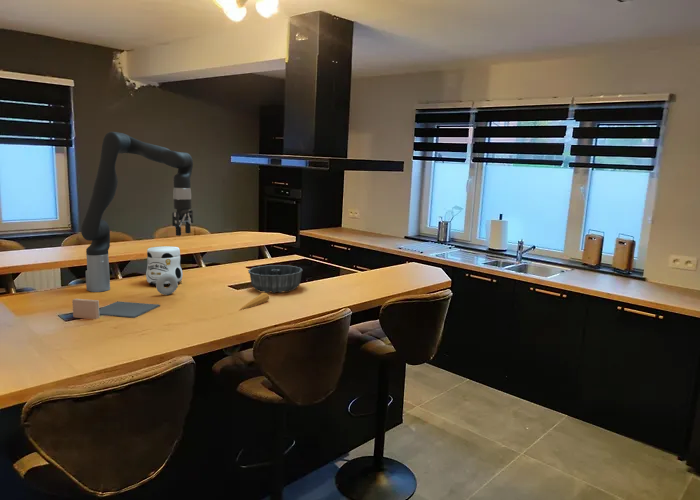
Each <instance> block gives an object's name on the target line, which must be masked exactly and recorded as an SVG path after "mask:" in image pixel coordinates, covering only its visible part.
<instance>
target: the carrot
mask: <svg viewBox="0 0 700 500" xmlns="http://www.w3.org/2000/svg"><path fill="white" fill-rule="evenodd" d="M269 300H270V295H269V294H268V293H267V292H260V294H259V295H257V296H255V298H253V299H251V300H250V301H249V302H247V303H246V304H244V305H243V306H242V307H240V309H238V310H239V311H243V310H245V309H249V308H252V307H255V305H256V306H257V305H258V304H259V305H261V303H262V304H264V302H265V303H267V302H268V301H269ZM242 309H243V310H242Z"/></svg>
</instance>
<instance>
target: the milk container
mask: <svg viewBox="0 0 700 500" xmlns="http://www.w3.org/2000/svg"><path fill="white" fill-rule="evenodd" d="M146 251H147V252H146V256H147V257H146V260H147V267H146V271H145V272H146V273H145V278H146V282H147V283H148V284H149V285H153V286H156V282H157V280H158V278H159V277H160V276H162V275H163V274H172V275H174V276H175V277H176V278H177V281H178V284H179V283H180V282H182V281H183V276H184V275H183V270H182V269H183V268H182V265H181V250H180V247H178V246H171V245H170V246H168V245H167V246H164V245H163V246H151V247H149V248H147V250H146ZM164 286H170V282H169V281H166V282H165V283H164Z"/></svg>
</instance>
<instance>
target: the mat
mask: <svg viewBox="0 0 700 500" xmlns="http://www.w3.org/2000/svg"><path fill="white" fill-rule="evenodd" d="M160 306H161V304H157V303H155V304H154V303H145V302H143V303H142V302H132V301H131V302H129V301H115V302H112V303H110V304H108V305H107V304H106V305H104V306H102V307H99V316H107V317H117V318H118V317H119V318H131V319H135V318H138V317H140V316H142V315H144V314H146V313H148V312H150V311H152V310H154V309H156V308H159V307H160Z"/></svg>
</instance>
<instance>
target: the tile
mask: <svg viewBox="0 0 700 500" xmlns="http://www.w3.org/2000/svg"><path fill="white" fill-rule="evenodd" d="M71 302H72V315H73V316H72V317H73V318H76V319H89V320H97V319H100V317H101V316H100V315H99V309H100V303H99V300H98V299H97V300H96V299H84V298H83V299H82V298H73V299H72V301H71Z"/></svg>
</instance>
